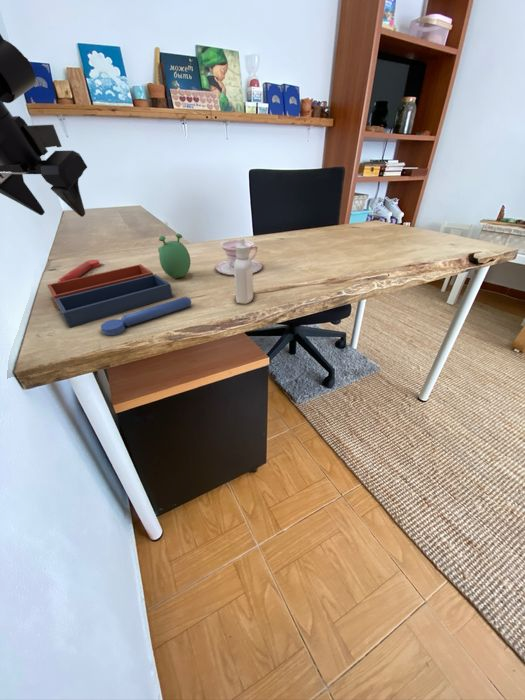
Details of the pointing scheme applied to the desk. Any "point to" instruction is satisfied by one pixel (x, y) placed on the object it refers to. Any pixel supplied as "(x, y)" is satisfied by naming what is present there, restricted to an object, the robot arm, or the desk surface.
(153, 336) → the desk surface
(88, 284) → the far bin
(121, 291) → the near bin
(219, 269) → the teacup
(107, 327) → the blue spoon
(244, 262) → the eye dropper bottle
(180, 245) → the alien toy
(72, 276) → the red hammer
